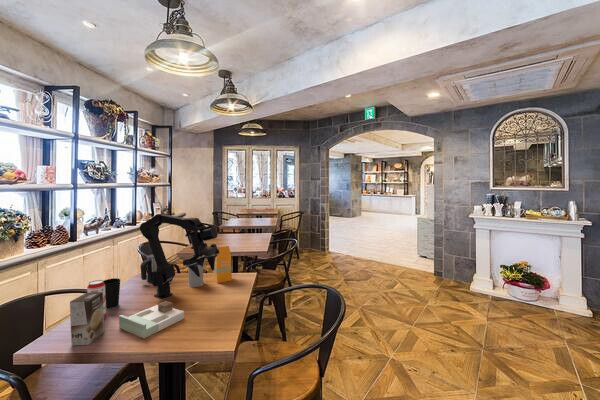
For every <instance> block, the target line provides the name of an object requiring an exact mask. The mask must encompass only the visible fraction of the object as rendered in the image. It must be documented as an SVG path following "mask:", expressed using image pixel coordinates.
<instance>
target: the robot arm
mask: <svg viewBox="0 0 600 400" xmlns="http://www.w3.org/2000/svg"><path fill="white" fill-rule="evenodd" d="M162 224H168V225H173V226H179V227H180V228H181V229H184V230H186V231H187V233H186V234H185V237H186V238H187V237H189V239H190V242H191V245H192V246H191V247H190V249H191V250H193V253H194V254H193V255H192V256H191V257H187V258H185V259H183V261H182V265H183V267H186V268H187V267H189V268H190V269H191V270H192V271H193V272H194V273H195V274H196V275H197V276H198V277H200V273H199V269H198V263H196V262H197V260H199V259H202V260H203V259H204V258H206V260H207V262H208V265H209V267H210V269H211V271H213V270H214V265H215V258H216V257H217V256H218V253H219V250H218V249H217V248H218V246H217V244H216V243H212V244H211V245H208V243H207V242H205V241H211V240H214V239H217V238H218V230H217V229H216V227H214V225H213V224H210V225H207V226H206V225H205V224H204V223H202V222H201V220H200V219H199V218H198V217H181V216H176V215H170V214H166V213H163V212H162V213H156V214H155V215H154V216H152V217H151V218H149V219H148V220H146V221H143V222H142V223H140V225H139V231H140V233H141V236H143V237H144V238H145V239H146V240H147V241H148V244H149V247H150V250H151V254H153V256H154V259H155V261H156V264H157V271H156V275H157V278H156V279H155V280H154V281H153V282H151V283H152V285H153V287H156V294H154V295H153V296H154V297H156V298H160V299H164V298H166V297H167V298H168V297H169V296H171V295H174V294H173V292H171V282H173V280H174V278H175V276H176V269H175V266H174V264H173V263H172V264H170V263H168V260H167V257H166V254H165V251H164V249H163V246H162V243H161V240H160V237H159V234H160V227H161V225H162ZM216 254H217V255H216Z"/></svg>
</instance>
